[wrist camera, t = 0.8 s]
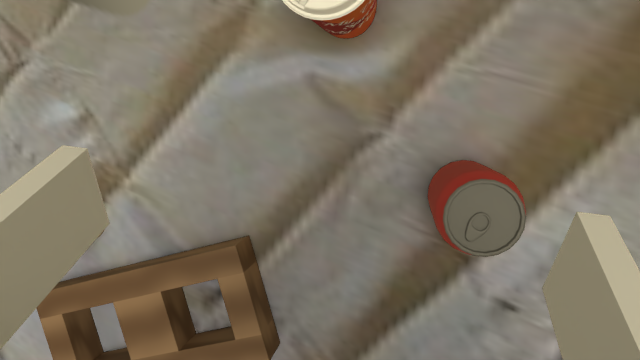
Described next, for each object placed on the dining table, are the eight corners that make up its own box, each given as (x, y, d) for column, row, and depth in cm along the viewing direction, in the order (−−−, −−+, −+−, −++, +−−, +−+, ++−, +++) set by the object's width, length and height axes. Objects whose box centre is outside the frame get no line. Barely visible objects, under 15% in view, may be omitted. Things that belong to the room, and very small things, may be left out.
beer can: (414, 203, 45) (417, 231, 33) (452, 146, 43) (470, 153, 32) (472, 240, 44) (497, 282, 32) (513, 183, 43) (554, 205, 31)
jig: (280, 342, 49) (269, 361, 45) (90, 378, 54) (65, 398, 50) (249, 235, 48) (235, 245, 44) (59, 282, 53) (32, 294, 49)
